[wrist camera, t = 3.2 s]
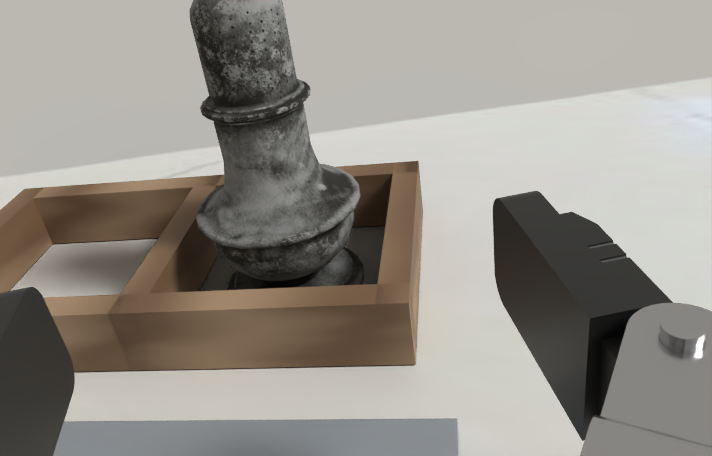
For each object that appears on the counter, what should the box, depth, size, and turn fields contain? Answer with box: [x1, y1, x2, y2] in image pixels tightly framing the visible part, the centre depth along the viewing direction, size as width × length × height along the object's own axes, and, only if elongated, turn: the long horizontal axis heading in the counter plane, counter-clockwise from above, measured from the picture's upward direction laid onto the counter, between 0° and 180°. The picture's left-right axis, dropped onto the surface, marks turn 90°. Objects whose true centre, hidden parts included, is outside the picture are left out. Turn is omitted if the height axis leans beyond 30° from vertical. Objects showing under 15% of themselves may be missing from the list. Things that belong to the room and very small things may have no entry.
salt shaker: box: [190, 0, 364, 290], centre depth 22 cm, size 6×6×12 cm
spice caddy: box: [0, 161, 423, 372], centre depth 25 cm, size 18×10×2 cm, turn 84°
